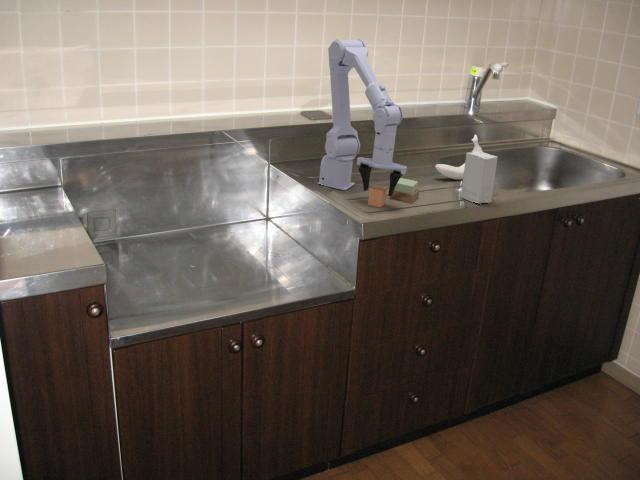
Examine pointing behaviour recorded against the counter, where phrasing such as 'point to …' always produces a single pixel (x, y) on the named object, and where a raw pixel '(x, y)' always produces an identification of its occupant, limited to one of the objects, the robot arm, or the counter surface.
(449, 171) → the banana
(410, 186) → the sage block
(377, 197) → the terracotta block
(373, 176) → the counter surface
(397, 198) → the walnut slab
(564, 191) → the counter surface
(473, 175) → the skincare box
